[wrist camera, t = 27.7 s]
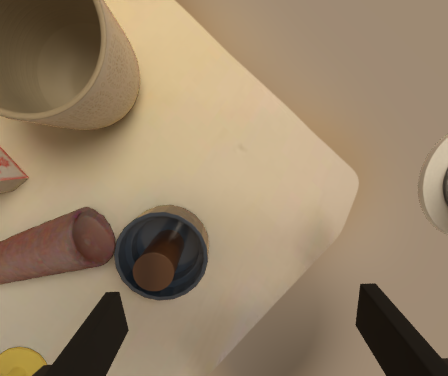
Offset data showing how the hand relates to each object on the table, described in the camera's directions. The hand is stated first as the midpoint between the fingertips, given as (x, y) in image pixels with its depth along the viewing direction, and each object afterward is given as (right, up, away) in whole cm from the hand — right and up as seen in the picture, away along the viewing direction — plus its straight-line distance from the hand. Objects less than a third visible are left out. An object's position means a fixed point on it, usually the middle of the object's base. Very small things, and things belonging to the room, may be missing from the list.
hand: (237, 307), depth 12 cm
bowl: (-11, -3, +28) cm, 30 cm away
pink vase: (-31, -2, +27) cm, 41 cm away
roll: (-11, -3, +28) cm, 30 cm away
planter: (-21, +24, +25) cm, 40 cm away
